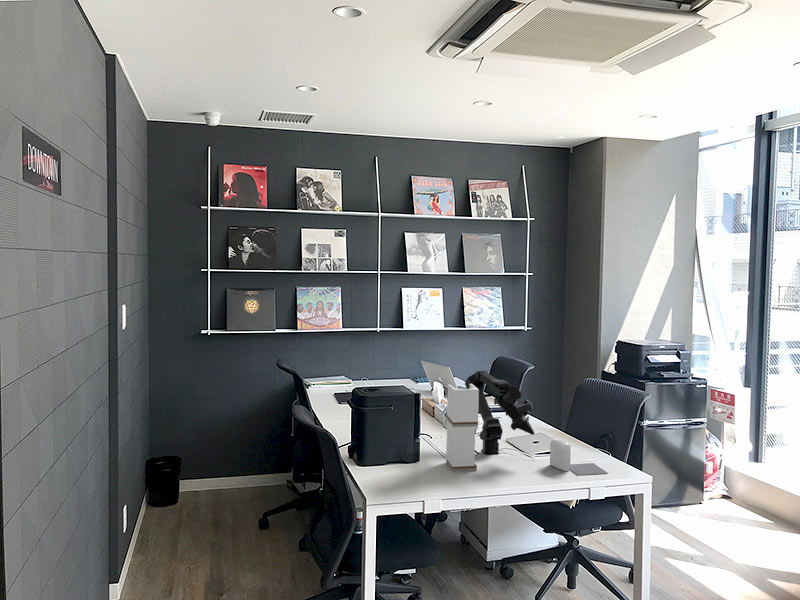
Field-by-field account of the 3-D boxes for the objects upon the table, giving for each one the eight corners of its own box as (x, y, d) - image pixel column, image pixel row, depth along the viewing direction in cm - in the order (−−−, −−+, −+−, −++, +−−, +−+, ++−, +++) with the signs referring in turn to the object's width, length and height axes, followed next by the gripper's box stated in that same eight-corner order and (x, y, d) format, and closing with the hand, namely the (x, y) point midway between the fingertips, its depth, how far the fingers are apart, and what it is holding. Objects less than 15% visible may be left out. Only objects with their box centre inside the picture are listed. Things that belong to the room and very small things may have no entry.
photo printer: (548, 464, 295) (549, 437, 294) (556, 463, 297) (557, 436, 296) (563, 472, 286) (564, 443, 285) (571, 470, 288) (572, 442, 287)
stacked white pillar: (476, 470, 286) (478, 389, 283) (452, 471, 284) (454, 390, 281) (469, 461, 297) (471, 383, 294) (446, 462, 295) (447, 384, 292)
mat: (577, 475, 282) (577, 474, 282) (563, 465, 295) (563, 464, 295) (607, 473, 285) (608, 473, 285) (593, 463, 297) (593, 463, 297)
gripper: (519, 399, 286) (544, 427, 284) (525, 391, 304) (549, 417, 301) (500, 416, 290) (525, 444, 287) (507, 406, 307) (531, 433, 304)
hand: (533, 434), depth 295 cm, fingers closed
